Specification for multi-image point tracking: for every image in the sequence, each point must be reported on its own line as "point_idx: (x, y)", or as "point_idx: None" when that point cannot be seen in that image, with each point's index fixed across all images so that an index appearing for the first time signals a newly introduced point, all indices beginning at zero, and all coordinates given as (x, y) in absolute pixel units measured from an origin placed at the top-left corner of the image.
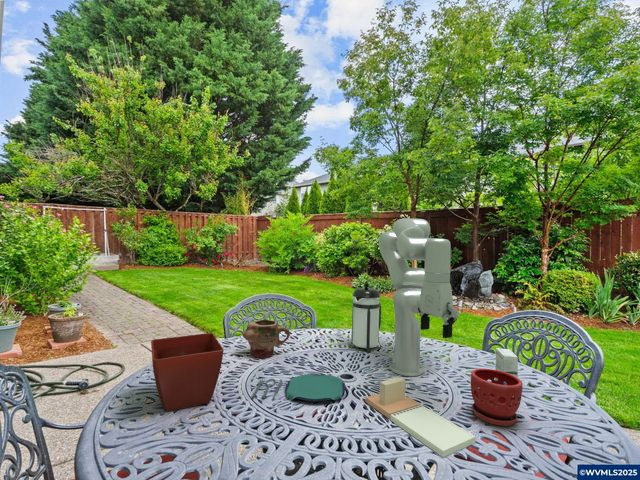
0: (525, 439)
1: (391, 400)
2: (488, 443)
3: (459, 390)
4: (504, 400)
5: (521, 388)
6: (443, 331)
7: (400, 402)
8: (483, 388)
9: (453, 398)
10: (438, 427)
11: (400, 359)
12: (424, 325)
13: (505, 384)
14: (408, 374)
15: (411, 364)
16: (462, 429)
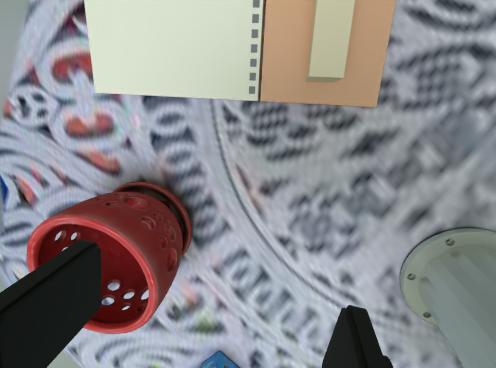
0: (79, 192)
1: (313, 12)
2: (93, 115)
3: (272, 277)
4: (141, 271)
5: None
6: (46, 269)
7: (299, 50)
8: (88, 204)
9: (253, 227)
10: (154, 42)
11: (491, 269)
12: (343, 357)
13: (213, 364)
14: (424, 245)
15: (439, 279)
16: (125, 91)
